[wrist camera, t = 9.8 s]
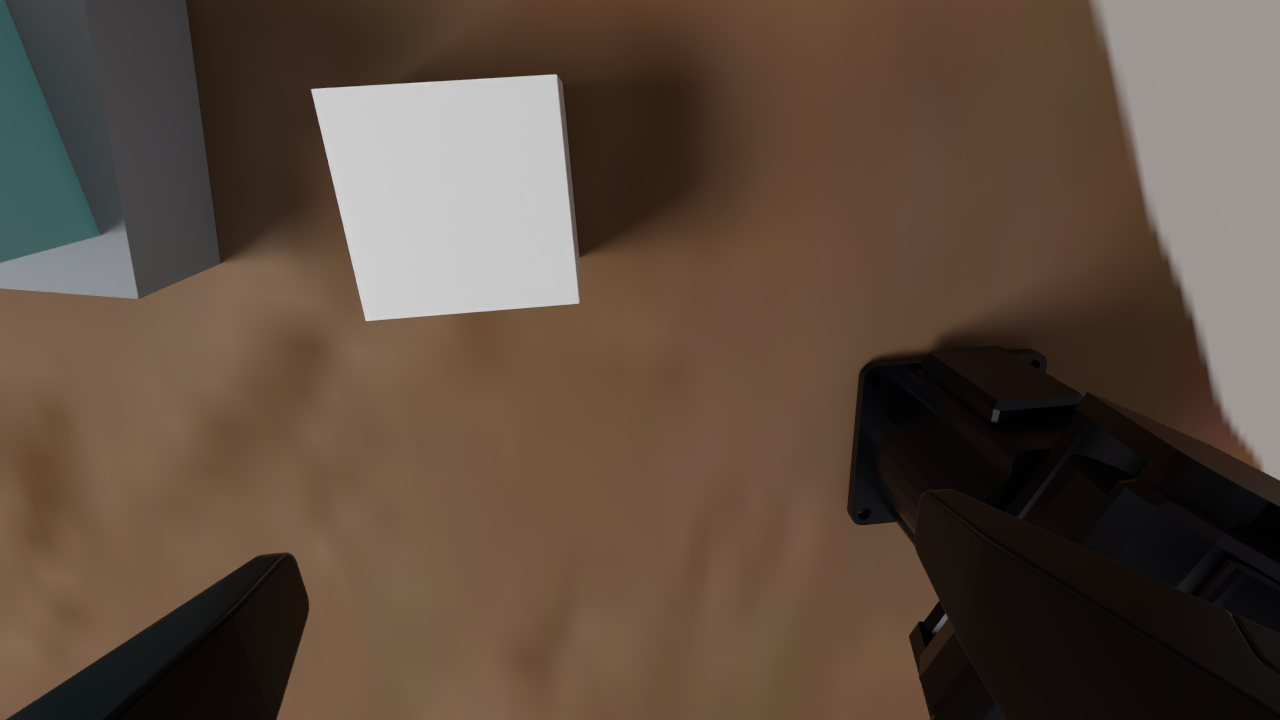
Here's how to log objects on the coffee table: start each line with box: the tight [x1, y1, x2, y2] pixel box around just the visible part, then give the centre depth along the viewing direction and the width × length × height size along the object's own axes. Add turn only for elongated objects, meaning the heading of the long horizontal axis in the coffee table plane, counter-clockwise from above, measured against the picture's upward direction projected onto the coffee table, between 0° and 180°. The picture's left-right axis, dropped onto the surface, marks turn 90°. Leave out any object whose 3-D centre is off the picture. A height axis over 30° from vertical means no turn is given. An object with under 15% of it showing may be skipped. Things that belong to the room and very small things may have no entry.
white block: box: [311, 74, 579, 321], centre depth 16 cm, size 5×5×5 cm
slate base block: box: [0, 0, 220, 299], centre depth 15 cm, size 7×7×4 cm
